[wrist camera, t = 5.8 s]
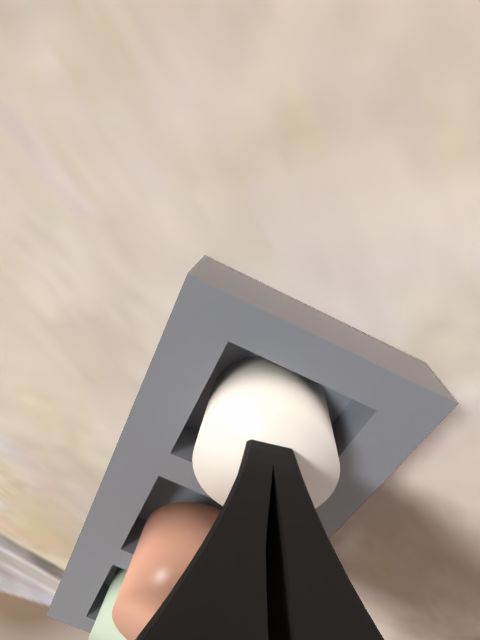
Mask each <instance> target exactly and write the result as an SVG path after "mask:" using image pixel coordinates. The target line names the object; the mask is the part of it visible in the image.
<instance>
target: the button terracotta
mask: <svg viewBox="0 0 480 640" xmlns="http://www.w3.org/2000/svg"><path fill="white" fill-rule="evenodd" d="M220 511H221V510H219V509H217V508H215V507H212V506H209V505H206V504H202V503H196V502H176V503H171V504H167V505H164V506H162V507H160V508H158V509H156V510H155V511H154V512H152V513H151V514H150V516H149V517H148V519H147V521H146V523H145V526H144V528H143V531H142V533H141V536H140V539H139V541H138V544H137V546H136V549H135V552H134V554H133V557H132V559H131V562H130V565H129V567H128V570H127V572H126V575H125V578H124V580H123V583H122V586H121V588H120V591H119V593H118V596H117V599H116V601H115V604H114V606H113V609H112V619H113V622H114V624H115V626H116V628H117V629H118V631H119V632H120V633H121V634H122V635H123V636H124V637H125V638H126V639H127V640H135V639H136V638H137V637H138V635H139V634H140V633H141V631H142V630H143V629H144V627H145V626H146V625H147V623H148V622H149V621H150V619H151V618H152V617H153V615H154V614H155V613H156V611H157V610H158V609H159V607H160V606H161V604H162V603H163V602H164V600H165V599H166V597H167V596H168V595H169V593H170V592H171V590H172V589H173V587H174V586H175V584H176V583H177V581H178V580H179V578H180V577H181V575H182V574H183V572H184V571H185V569H186V568H187V566H188V565H189V563H190V562H191V560H192V559H193V557H194V555H195V554H196V552H197V551H198V549H199V548H200V546H201V544H202V543H203V541H204V539H205V538H206V536H207V534H208V532H209V531H210V529H211V527H212V525H213V524H214V522H215V520H216V518H217V516H218V514H219V512H220Z"/></svg>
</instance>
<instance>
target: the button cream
mask: <svg viewBox="0 0 480 640" xmlns="http://www.w3.org/2000/svg"><path fill="white" fill-rule="evenodd" d="M251 439H252V440H256V441H261V442H265V443H269V444H274V445H278V446H282V447H287V448H291V449H292V450H293V451H294V454H295V457H296V460H297V463H298V466H299V469H300V471H301V474H302V477H303V480H304V482H305V485H306V487H307V490H308V493H309V495H310V497H311V500H312V502H313V505H314V507H315V508H317V507H318V506H320V505H321V504H322V503H324V502H325V501H326V500H327V499H328V498H329V497H330V495H331V494H332V493H333V491H334V489H335V488H336V486H337V483H338V480H339V476H340V462H339V457H338V452H337V448H336V443H335V439H334V434H333V429H332V425H331V420H330V416H329V411H328V406H327V402H326V397H325V393H324V390H323V388H322V386H321V384H319V383H317V382H315V381H312V380H310V379H308V378H306V377H304V376H302V375H300V374H297V373H295V372H293V371H291V370H289V369H287V368H285V367H282V366H280V365H278V364H276V363H274V362H272V361H270V360H267V359H265V358H263V357H261V356H254V357H249V358H246V359H243V360H240V361H238V362H236V363H234V364H232V365H231V366H229V367H228V368H227V369H226V370H224V371H223V372H222V373H221V375H220V376H219V377H218V378H217V380H216V382H215V384H214V386H213V388H212V392H211V395H210V398H209V401H208V405H207V408H206V411H205V414H204V417H203V421H202V424H201V427H200V430H199V434H198V437H197V440H196V443H195V446H194V450H193V457H192V463H193V469H194V473H195V476H196V478H197V480H198V482H199V484H200V485H201V487H202V488H203V490H204V491H205V492H206V493H207V494H208V495H209V496H210V497H211V498H212V499H213V500H215V501H216V502H217V503H219V504H220V505H222V506H223V505H224V503H225V501H226V499H227V497H228V495H229V493H230V490H231V488H232V486H233V484H234V482H235V479H236V477H237V475H238V471H239V467H240V464H241V460H242V457H243V453H244V449H245V446H246V442H247V441H248V440H251Z"/></svg>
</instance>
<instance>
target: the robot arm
mask: <svg viewBox="0 0 480 640" xmlns="http://www.w3.org/2000/svg"><path fill="white" fill-rule="evenodd" d="M135 640H384V639H383V637H382V635H381V634H380V632H379V630H378V629H377V627H376V625H375V624H374V622H373V620H372V619H371V617H370V615H369V614H368V612H367V610H366V609H365V607H364V605H363V603H362V601H361V600H360V598H359V596H358V594H357V593H356V591H355V589H354V587H353V585H352V584H351V582H350V580H349V578H348V576H347V574H346V572H345V571H344V569H343V567H342V565H341V563H340V561H339V559H338V557H337V555H336V553H335V551H334V549H333V547H332V545H331V543H330V541H329V538H328V536H327V534H326V532H325V530H324V528H323V525H322V523H321V521H320V519H319V516H318V514H317V512H316V509H315V507H314V505H313V502H312V500H311V497H310V495H309V493H308V490H307V487H306V485H305V482H304V480H303V477H302V474H301V471H300V469H299V466H298V463H297V460H296V457H295V454H294V451H293V450H292V449H291V448H287V447H282V446H278V445H274V444H269V443H265V442H261V441H256V440H252V439H251V440H248V441H247V442H246V446H245V449H244V453H243V457H242V460H241V464H240V467H239V471H238V475H237V477H236V479H235V482H234V484H233V486H232V488H231V490H230V493H229V495H228V497H227V499H226V501H225V503H224V505H223V507H222V509H221V511H220V512H219V514H218V516H217V518H216V520H215V522H214V524H213V525H212V527H211V529H210V531H209V532H208V534H207V536H206V538H205V539H204V541H203V543H202V544H201V546H200V548H199V549H198V551H197V552H196V554H195V555H194V557H193V559H192V560H191V562H190V563H189V565H188V566H187V568H186V569H185V571H184V572H183V574H182V575H181V577H180V578H179V580H178V581H177V583H176V584H175V586H174V587H173V589H172V590H171V592H170V593H169V595H168V596H167V597H166V599H165V600H164V602H163V603H162V604H161V606H160V607H159V609H158V610H157V611H156V613H155V614H154V615H153V617H152V618H151V619H150V621H149V622H148V623H147V625H146V626H145V627H144V629H143V630H142V631H141V633H140V634H139V635H138V637H137V638H136V639H135Z"/></svg>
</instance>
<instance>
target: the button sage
mask: <svg viewBox="0 0 480 640" xmlns="http://www.w3.org/2000/svg"><path fill="white" fill-rule="evenodd" d="M126 572H127V570H125V569H122V568H120V567H117V570H116V572H115V575H114V577H113V579H112V582H111V584H110V587H109V589H108V592H107V594H106V596H105V599H104V601H103V604H102V606H101V609H100V611H99V613H98V616H97V618H96V621H95V623H94V626H93V628H92V630H91V633H90V635H89V640H127V639H126V638H125V637H124V636H123V635H122V634H121V633H120V632H119V631H118V629H117V628H116V626H115V624H114V622H113V619H112V609H113V606H114V604H115V601H116V599H117V596H118V593H119V591H120V588H121V586H122V583H123V580H124V578H125V575H126Z"/></svg>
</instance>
